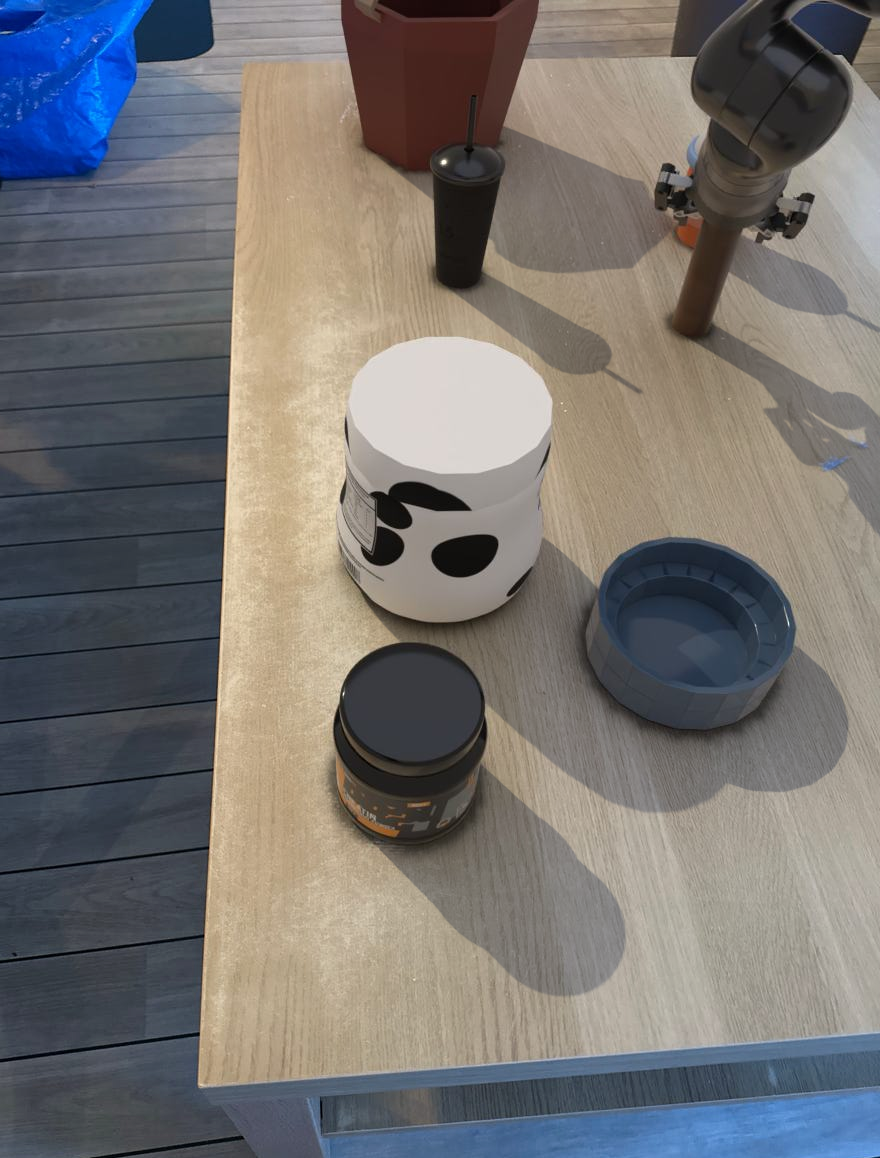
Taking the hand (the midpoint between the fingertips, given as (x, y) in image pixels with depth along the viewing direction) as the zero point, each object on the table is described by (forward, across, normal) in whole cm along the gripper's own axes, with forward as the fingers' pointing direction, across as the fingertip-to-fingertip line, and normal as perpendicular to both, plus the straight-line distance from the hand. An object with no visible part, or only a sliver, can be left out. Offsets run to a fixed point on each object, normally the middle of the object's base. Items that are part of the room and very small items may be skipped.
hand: (722, 224), depth 98 cm
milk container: (-22, +15, +38) cm, 46 cm away
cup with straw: (+20, +1, -3) cm, 20 cm away
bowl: (-23, -7, +40) cm, 46 cm away
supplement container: (-37, +10, +53) cm, 66 cm away
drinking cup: (+6, +26, +10) cm, 29 cm away
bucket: (+25, +38, -9) cm, 46 cm away
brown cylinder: (+7, 0, +9) cm, 12 cm away
